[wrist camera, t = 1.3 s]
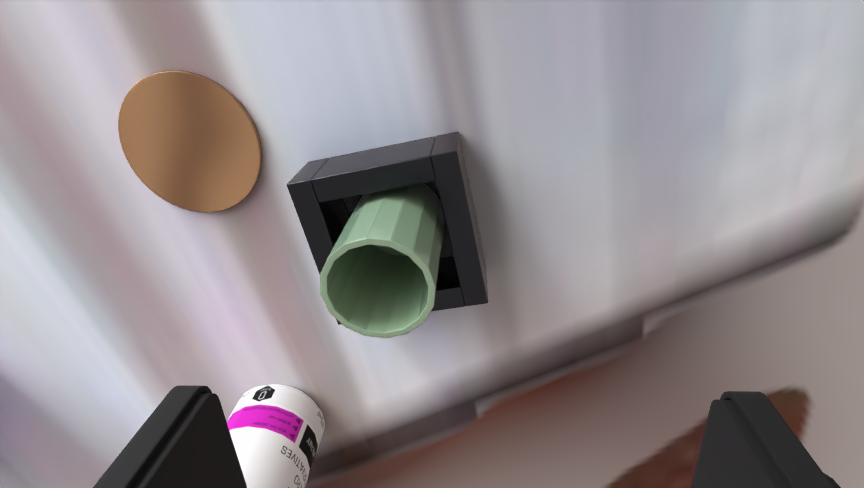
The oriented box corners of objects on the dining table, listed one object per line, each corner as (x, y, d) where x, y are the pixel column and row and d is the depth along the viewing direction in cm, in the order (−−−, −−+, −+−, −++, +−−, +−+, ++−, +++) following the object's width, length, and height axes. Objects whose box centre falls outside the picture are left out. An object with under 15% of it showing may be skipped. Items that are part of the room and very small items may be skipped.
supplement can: (222, 401, 46) (119, 568, 33) (286, 365, 44) (202, 530, 30) (281, 455, 49) (208, 628, 35) (344, 423, 46) (292, 598, 33)
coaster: (137, 203, 37) (133, 205, 37) (107, 63, 33) (103, 64, 32) (267, 216, 37) (265, 218, 37) (256, 77, 33) (253, 78, 32)
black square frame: (352, 290, 39) (338, 325, 35) (308, 161, 35) (286, 184, 31) (486, 269, 38) (488, 303, 34) (458, 131, 33) (456, 150, 29)
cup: (357, 251, 38) (321, 331, 29) (357, 171, 35) (318, 233, 26) (440, 260, 38) (430, 343, 29) (448, 180, 35) (439, 245, 26)
